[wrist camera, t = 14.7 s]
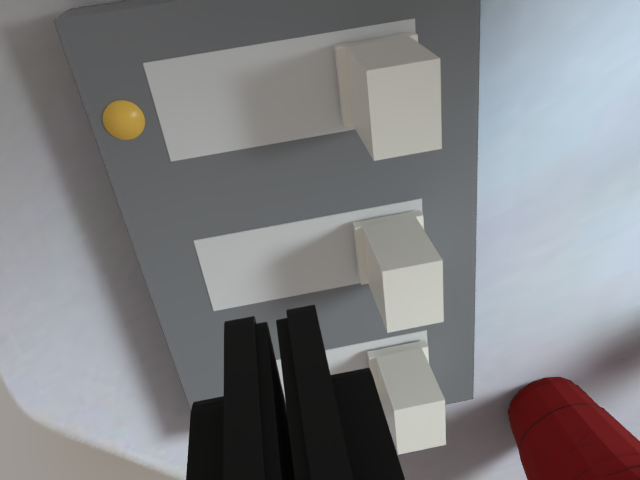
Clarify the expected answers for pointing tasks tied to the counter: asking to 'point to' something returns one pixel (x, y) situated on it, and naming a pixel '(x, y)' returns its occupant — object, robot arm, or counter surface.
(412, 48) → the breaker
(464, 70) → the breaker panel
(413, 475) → the counter surface
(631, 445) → the plastic cup
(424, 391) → the block
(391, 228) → the block
